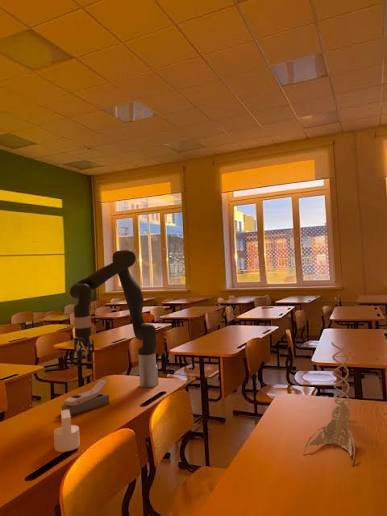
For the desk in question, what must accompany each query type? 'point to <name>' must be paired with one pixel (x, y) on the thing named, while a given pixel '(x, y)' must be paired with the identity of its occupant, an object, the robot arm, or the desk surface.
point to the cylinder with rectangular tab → (66, 434)
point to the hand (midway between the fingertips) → (84, 360)
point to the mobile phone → (85, 395)
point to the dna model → (340, 376)
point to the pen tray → (88, 404)
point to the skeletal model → (336, 430)
